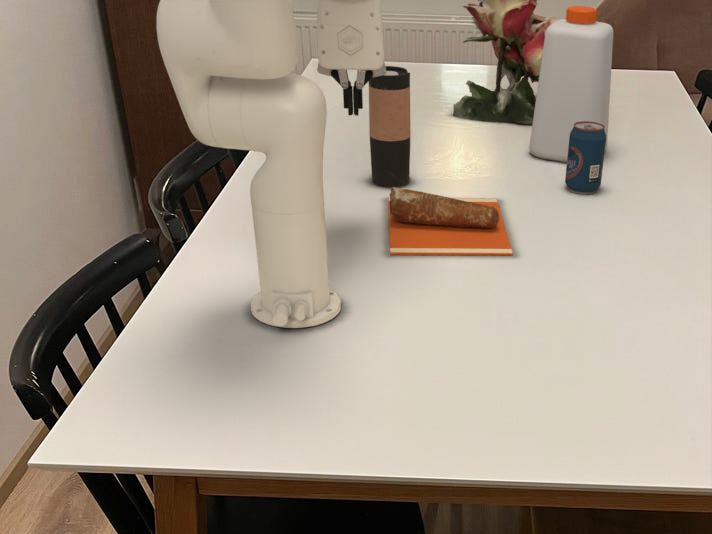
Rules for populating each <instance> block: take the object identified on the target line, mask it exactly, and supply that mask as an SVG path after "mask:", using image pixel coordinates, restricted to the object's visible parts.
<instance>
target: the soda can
mask: <svg viewBox="0 0 712 534" xmlns="http://www.w3.org/2000/svg"><path fill="white" fill-rule="evenodd" d="M606 137H607V136H606V133H605V130H604V125H602V124H600V123H597V122H590V121H581V122H576V123H575V124H574V127H573V129H572V131H571V132H570V137H569V147H568V157H567V162H566V166H565V167H566V169H565V176H564V177H565V178H564V182H565V185H566V187H567V189H568V191H569V192H571V193H574V194H577V195H578V194H579V195H590V194H594V193H596V192H597V190H599V189H600V187H601V185H602V179H603V169H604V161H605V152H606V150H605V146H606ZM607 138H608V137H607Z"/></svg>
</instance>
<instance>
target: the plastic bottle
mask: <svg viewBox="0 0 712 534" xmlns="http://www.w3.org/2000/svg"><path fill="white" fill-rule="evenodd" d="M597 17H598V11H597V9H596V8H595V7H591V6H586V5H585V6H584V5H572V6H568V7H567V8H566V13H565V18H560V19H561V20H558V21H556V22H554V23H553V24H551V25H550V26H549V27H548V28H547V30H546V33H545V40H544V47H543V54H542V61H541V68H540V75H539V82H537V91H536V96H535V99H536V103H535V110H534V117H533V124H531V132H530V138H529V139H530V140H529V147H528V149H529V151H530V154H532V155H533V156H534V157H536V158H538V159H543V160H549V161H555V162H562V163H567V157H568V147H569V137H570V132H571V131H572V129H573V127H574V124H575V123H576V122H581V121H590V122H597V123H600V124H602V125H604V130H605V133H606V136H607V137H606V146H605V151H606V150H607V148H608V138H609V137H608V136H609V135H608V134H609V117H610V101H611V100H610V99H611V84H612V83H611V82H612V65H613V47H614V46H613V45H614V29H613V26H612V25H611V24H609V23H607V22H603V21H602V22H601V21H597Z"/></svg>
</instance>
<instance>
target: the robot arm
mask: <svg viewBox="0 0 712 534" xmlns="http://www.w3.org/2000/svg"><path fill="white" fill-rule="evenodd" d="M383 20H384V19H383V12H382V5H381V0H317V8H316V50H317V51H316V52H317V60H318V63H317V69H316V70H317V73H318V74H320V75H324V76H328V77H331V78H333V80H335V81H336V82H337V83H338V85H340V87H341V88H342V95H343V97H342V98H343V109H347V115H348V116H353V115H354V117H355V116H359V113H360V112H359V111H360V110H363V109H364V102H363V101H364V100H363V88H364V87H365V86H366V85H367V84H368V83H369V80H370V79H371V78H373V77H378V76H382V75H385V74H386V67H385V66H386V63H385V36H384V35H385V33H384V21H383ZM155 29H156V36H157V43H158V48H159V51H160V54H161V58H162V61H163V65H164V67H165V69H166V72H167V75H168V76H169V80H170V82H171V85H172V88H173V91H174V93H175V96H176V99H177V101H178V104H179V107H180V109H181V112H182V115H183V117H184V119H185V122H186V124H187V127H188V129H189V131H190V133H191V134H192V136H193V137H194V138H195V139H196V140H197V141H198V142H199V143H201V144H203V145H205V146H209V147H213V148H220V149H228V150H239V151H251V152H257V153H261V154H264V155H265V160H264V162H263V163H262V164H261V165H260V167H258V169H257V170H256V172H255V174H254V175H253V177H252V179H251V183H250V186H249V187H250V189H249V195H250V204H251V212H252V222H253V231H254V240H255V250H256V251H255V252H256V261H257V271H258V280H259V289H260V292H258V293H257V294H256V295H254V296H253V298H252V299H251V301H250V312H251V314H252V316H253V317H254V318H255V319H256V320H258V321H259V322H261V323H263V324H266V325H269V326H272V327H278V328H285V329H303V328H309V327H315V326H319V325H322V324H324V323H328V322H330V321H331V320H333V319H334V318H335V317H337V316H338V315H339V313H340V312H341V309H342V301H341V298H340V296H339V295H338V294H337V293H336V292H335V291H334V290H332V289H330V283H329V265H328V263H329V262H328V247H327V229H326V212H325V194H324V164H323V163H324V146H325V135H326V127H327V126H326V125H327V115H328V114H327V101H326V97H325V94H324V92H323V90H322V89H321V87H320V86H319V85H318V83H316V82H315V81H313V80H312V79H310V78H308V77H306V76H304V75H301V74H297V73H293V71H294V70H295V68H296V67H297V64H298V61H299V57H300V44H299V42H300V41H299V37H298V36H299V35H298V29H297V24H296V19H295V16H294V9H293V5H292V0H159V3H158V6H157V10H156V27H155ZM348 70H349V71H356V79H355V81H354V82H353V85H352V83H351V80H350V79H349V78H350V77H349V74H348Z"/></svg>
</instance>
